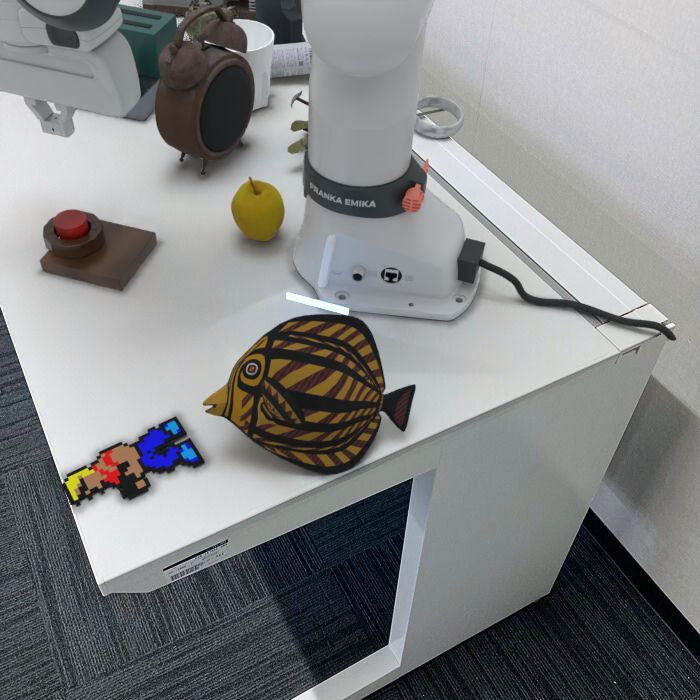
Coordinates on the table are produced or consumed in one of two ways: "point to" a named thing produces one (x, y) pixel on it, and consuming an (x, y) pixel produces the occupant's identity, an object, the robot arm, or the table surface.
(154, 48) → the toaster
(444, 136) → the ring
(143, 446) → the pixel art figurine
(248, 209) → the apple
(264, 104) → the cup
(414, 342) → the table surface
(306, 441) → the decorative fish sculpture
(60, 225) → the button
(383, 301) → the robot arm
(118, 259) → the block
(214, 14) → the rock
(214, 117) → the alarm clock
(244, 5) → the model house
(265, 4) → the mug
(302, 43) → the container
